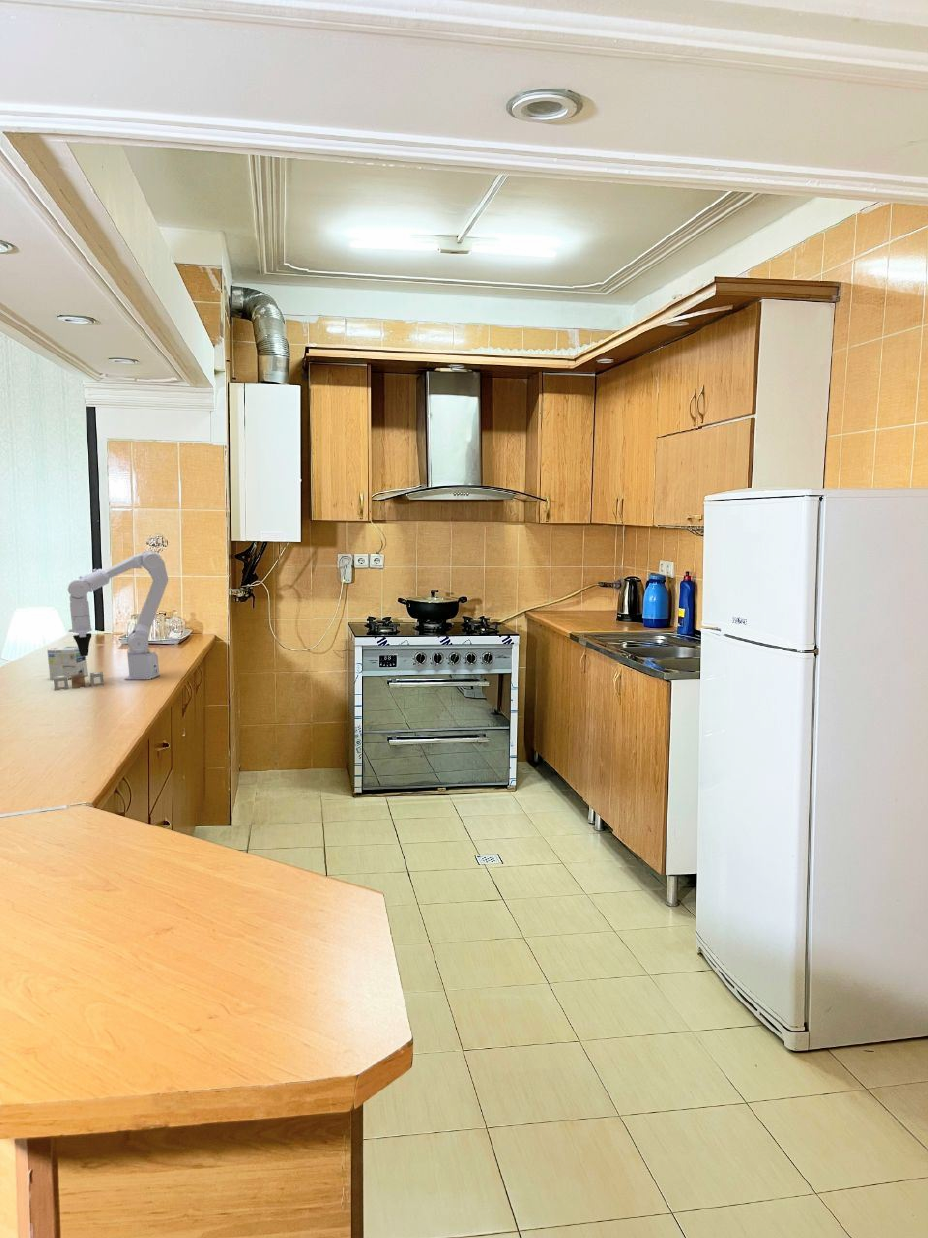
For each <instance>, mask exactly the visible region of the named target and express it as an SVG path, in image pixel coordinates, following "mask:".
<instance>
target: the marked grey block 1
mask: <svg viewBox="0 0 928 1238" xmlns="http://www.w3.org/2000/svg"><path fill="white" fill-rule="evenodd" d="M68 680H69V679H67V675H65V676H56V677H54V679H53V684H54V691H61V690H60V689H64V690H68V689H69V682H68Z"/></svg>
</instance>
